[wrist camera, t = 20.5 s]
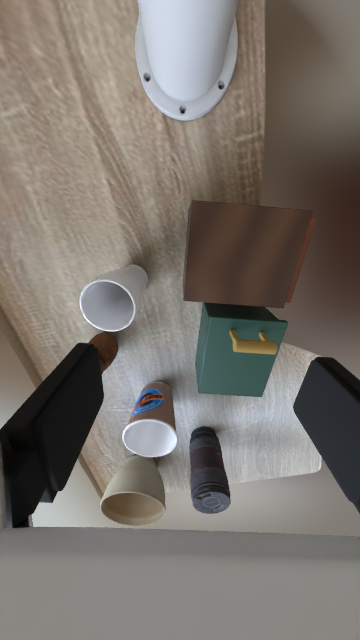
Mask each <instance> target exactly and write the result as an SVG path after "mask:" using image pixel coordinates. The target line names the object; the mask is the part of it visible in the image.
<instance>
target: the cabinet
mask: <svg viewBox="0 0 360 640" xmlns="http://www.w3.org/2000/svg"><path fill="white" fill-rule="evenodd" d="M312 213H313V211H309V210H298V209H287V208H276V207H264V206H253V205H241V204H230V203H219V202H207V201H196V200H192V202H191V205H190V208H189V214H188V226H187V238H186V250H185V262H184V274H183V300H184V301H194V302H207V303H221V304H234V305H248V306H261V307H274V308H284V305H285V302H286V298H287V295H288V292H289V289H290V285H291V282H292V279H293V275H294V272H295V269H296V265H297V262H298V259H299V256H300V252H301V249H302V246H303V242H304V239H305V236H306V232H307V229H308V226H309V223H310V219H311V216H312Z"/></svg>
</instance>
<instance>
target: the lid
mask: <svg viewBox="0 0 360 640" xmlns="http://www.w3.org/2000/svg"><path fill="white" fill-rule="evenodd" d="M287 325H288V322H287V321H285V320H273V319H259V318H245V317H232V316H218V315H210V320H209V326H208V332H207V339H206V345H205V351H204V358H203V364H202V370H201V376H200V383H199V389H198V392H199V393H204V394H220V395H236V396H252V397H262V395H263V392H264V389H265V386H266V384H267V381H268V378H269V375H270V373H271V370H272V367H273V364H274V361H275V359H276V356H277V353H278V350H279V347H280V345H281V342H282V339H283V336H284V333H285V330H286V328H287Z"/></svg>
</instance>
